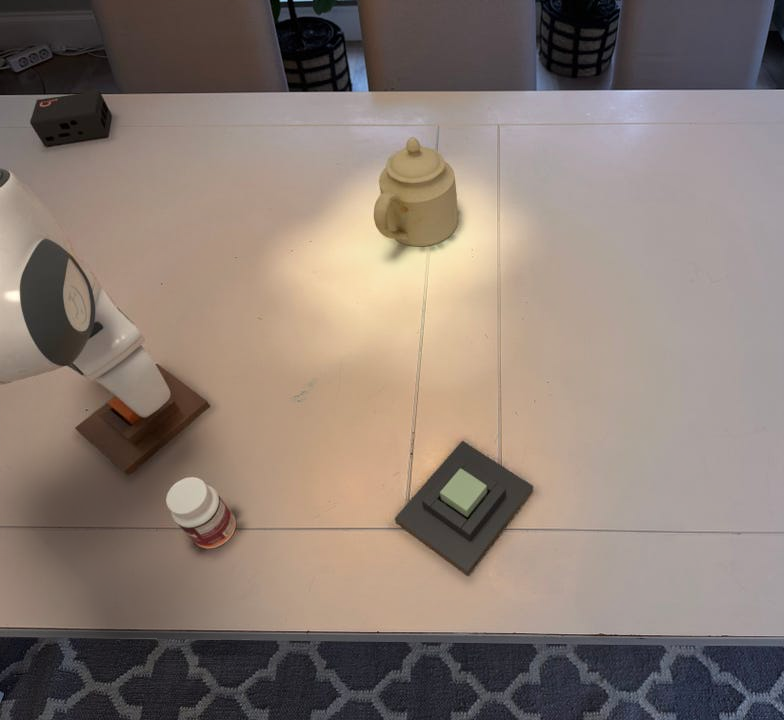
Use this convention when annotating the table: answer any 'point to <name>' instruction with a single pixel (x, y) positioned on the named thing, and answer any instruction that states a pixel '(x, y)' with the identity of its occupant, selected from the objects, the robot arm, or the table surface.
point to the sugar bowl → (417, 197)
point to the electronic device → (71, 118)
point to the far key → (124, 410)
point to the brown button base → (142, 426)
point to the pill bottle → (200, 512)
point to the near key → (463, 492)
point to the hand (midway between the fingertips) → (125, 391)
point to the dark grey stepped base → (451, 528)
